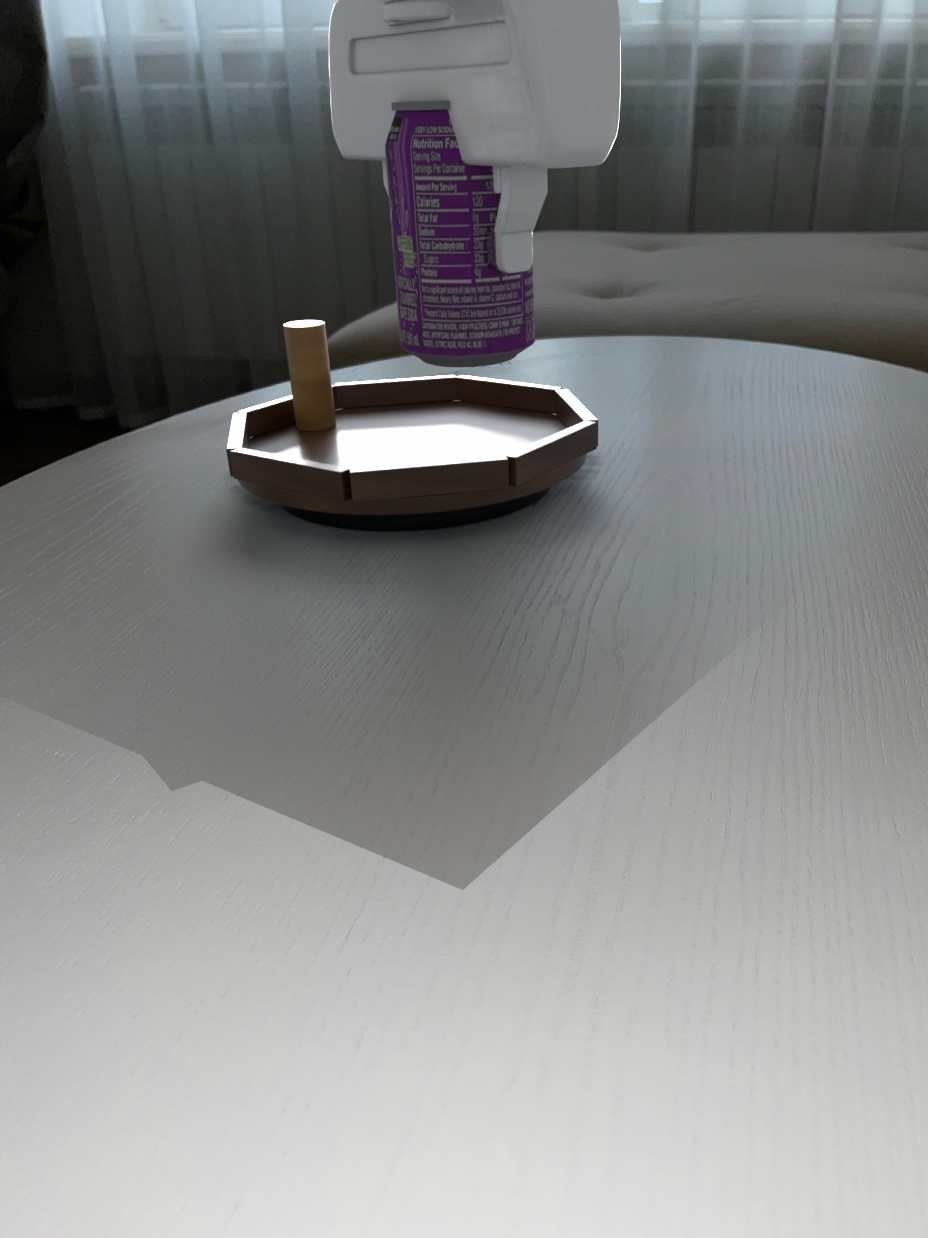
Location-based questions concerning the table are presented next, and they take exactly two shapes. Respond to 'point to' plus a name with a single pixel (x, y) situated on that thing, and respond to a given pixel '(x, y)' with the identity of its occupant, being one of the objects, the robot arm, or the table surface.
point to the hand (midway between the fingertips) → (464, 263)
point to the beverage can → (449, 248)
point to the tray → (403, 439)
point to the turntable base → (416, 517)
